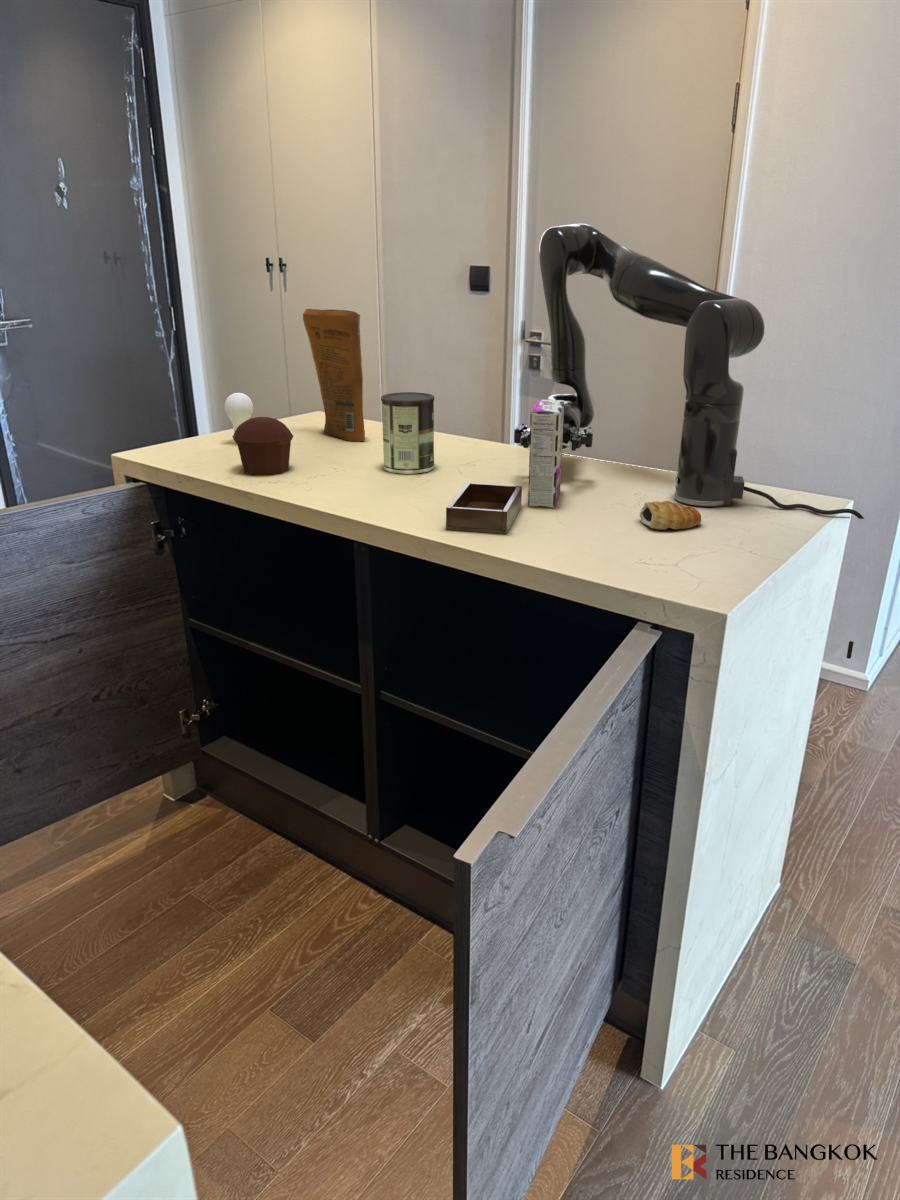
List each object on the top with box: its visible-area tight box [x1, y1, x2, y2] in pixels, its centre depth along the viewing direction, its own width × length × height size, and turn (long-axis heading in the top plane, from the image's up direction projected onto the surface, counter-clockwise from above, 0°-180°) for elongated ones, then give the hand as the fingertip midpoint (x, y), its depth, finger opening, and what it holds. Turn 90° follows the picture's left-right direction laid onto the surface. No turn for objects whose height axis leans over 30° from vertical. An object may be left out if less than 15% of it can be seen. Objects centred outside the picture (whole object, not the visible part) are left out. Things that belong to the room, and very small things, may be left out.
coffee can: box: [380, 391, 435, 475], centre depth 169 cm, size 10×10×14 cm
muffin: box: [232, 416, 294, 476], centre depth 168 cm, size 12×11×10 cm
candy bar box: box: [527, 398, 564, 509], centre depth 148 cm, size 11×5×16 cm, turn 168°
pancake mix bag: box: [302, 308, 366, 442], centre depth 193 cm, size 7×19×28 cm, turn 40°
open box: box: [445, 481, 523, 535], centre depth 140 cm, size 10×16×4 cm, turn 167°
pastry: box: [639, 500, 702, 531], centre depth 137 cm, size 9×7×4 cm
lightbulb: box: [224, 392, 254, 432], centre depth 190 cm, size 6×6×11 cm
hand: (549, 443), depth 152 cm, fingers open, 8 cm apart
